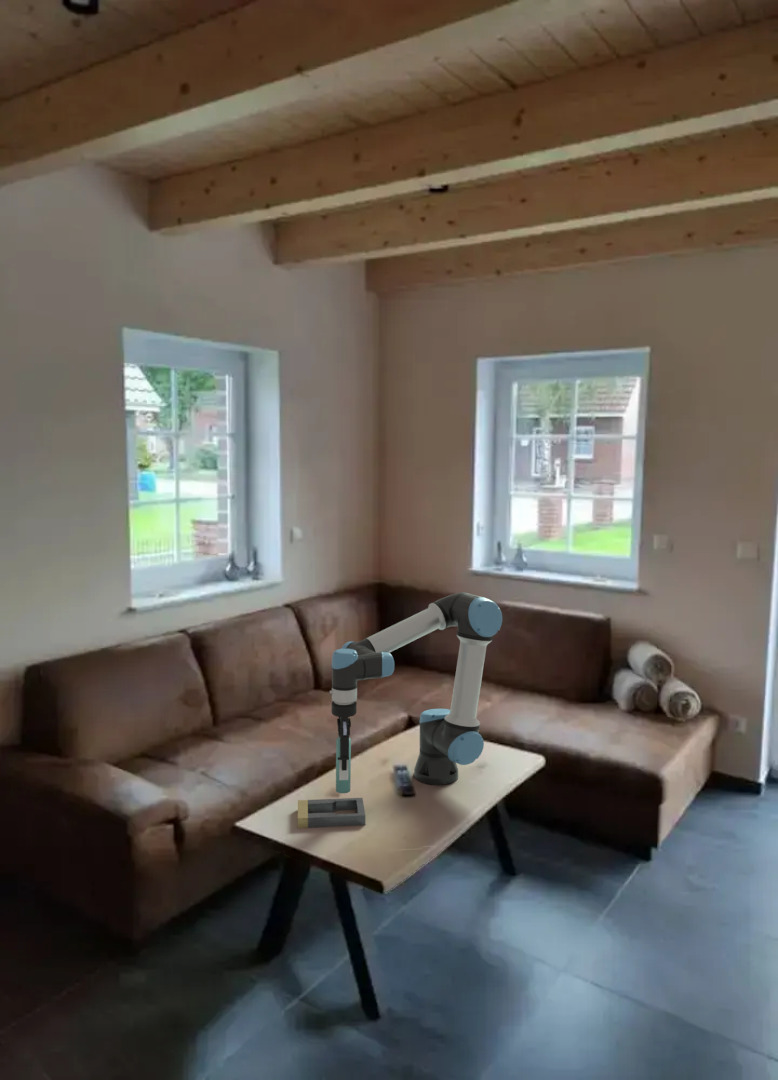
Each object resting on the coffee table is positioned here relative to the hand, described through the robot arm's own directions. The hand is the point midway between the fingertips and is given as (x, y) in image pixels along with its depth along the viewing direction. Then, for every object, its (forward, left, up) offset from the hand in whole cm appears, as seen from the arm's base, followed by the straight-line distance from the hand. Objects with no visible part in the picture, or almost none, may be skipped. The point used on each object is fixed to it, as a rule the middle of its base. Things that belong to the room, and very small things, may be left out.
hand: (343, 775), depth 238 cm
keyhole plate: (+4, 0, -13) cm, 13 cm away
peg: (0, 0, -5) cm, 5 cm away
